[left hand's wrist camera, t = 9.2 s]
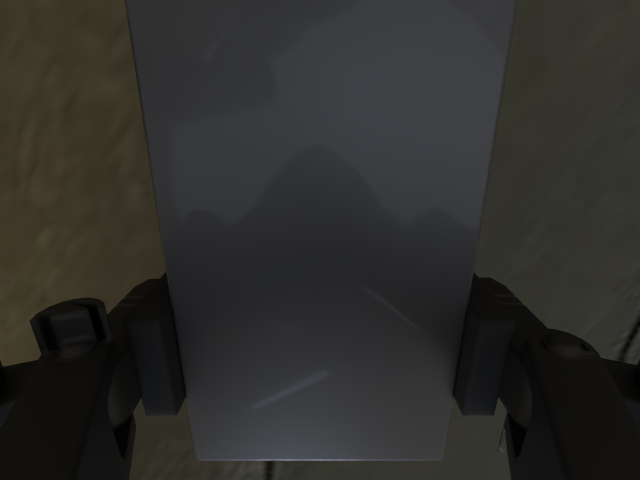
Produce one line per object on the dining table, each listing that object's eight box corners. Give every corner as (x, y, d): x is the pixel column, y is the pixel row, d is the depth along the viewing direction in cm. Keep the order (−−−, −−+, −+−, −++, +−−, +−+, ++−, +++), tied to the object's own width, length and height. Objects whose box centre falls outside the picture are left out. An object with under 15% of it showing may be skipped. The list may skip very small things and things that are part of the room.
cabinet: (234, -121, 14) (1, -779, 4) (406, -120, 14) (646, -766, 4) (258, 284, 20) (193, 462, 10) (379, 284, 20) (444, 462, 10)
